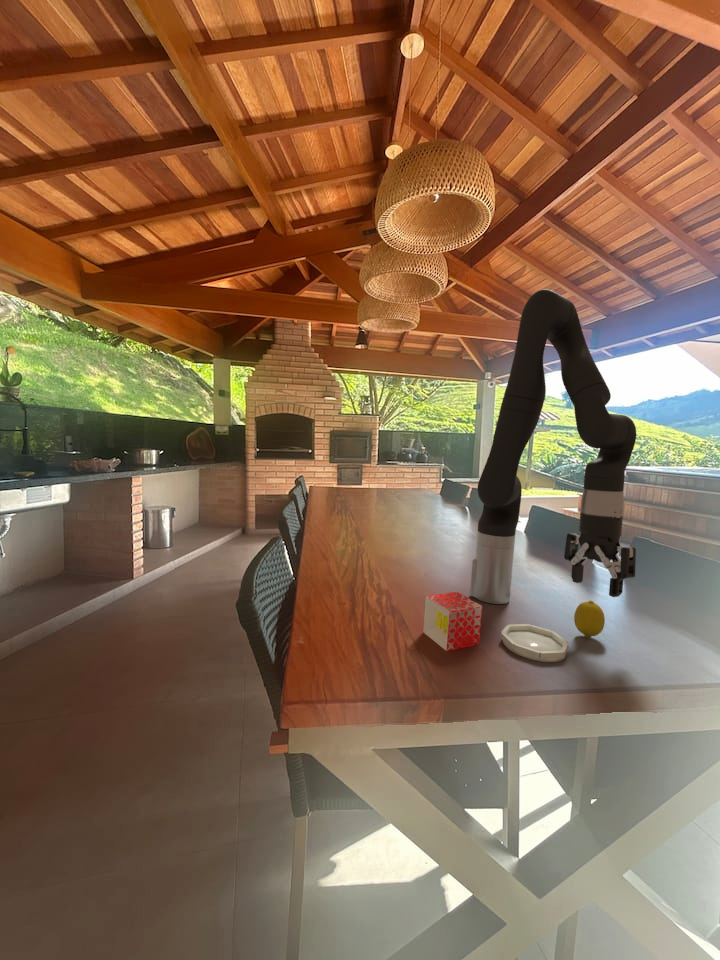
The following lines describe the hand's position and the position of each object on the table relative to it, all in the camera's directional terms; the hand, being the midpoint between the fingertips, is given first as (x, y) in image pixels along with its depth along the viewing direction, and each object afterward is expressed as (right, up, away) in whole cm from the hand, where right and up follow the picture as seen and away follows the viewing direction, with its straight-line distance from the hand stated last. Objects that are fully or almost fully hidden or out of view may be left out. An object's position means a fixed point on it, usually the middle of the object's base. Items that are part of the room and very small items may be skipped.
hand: (595, 588), depth 83 cm
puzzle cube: (-31, -10, -2) cm, 32 cm away
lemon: (-1, -11, +1) cm, 11 cm away
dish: (-15, -10, -4) cm, 18 cm away
